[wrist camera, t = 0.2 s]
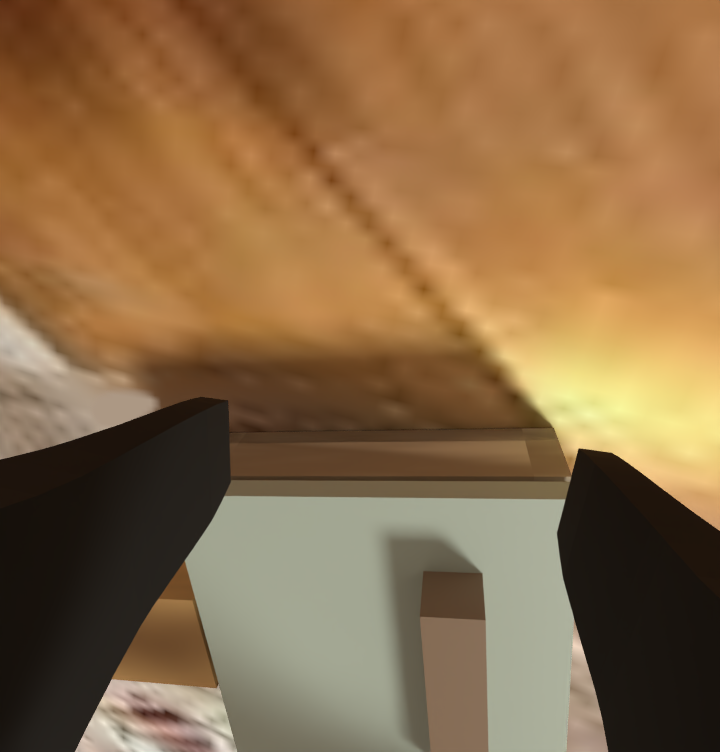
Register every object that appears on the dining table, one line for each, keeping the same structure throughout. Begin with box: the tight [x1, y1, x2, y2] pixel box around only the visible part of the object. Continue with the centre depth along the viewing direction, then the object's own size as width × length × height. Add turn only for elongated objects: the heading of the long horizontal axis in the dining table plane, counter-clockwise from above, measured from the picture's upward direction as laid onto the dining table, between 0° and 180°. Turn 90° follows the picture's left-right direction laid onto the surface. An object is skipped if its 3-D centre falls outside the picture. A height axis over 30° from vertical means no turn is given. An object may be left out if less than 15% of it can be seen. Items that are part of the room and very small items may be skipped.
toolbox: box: [229, 428, 572, 482], centre depth 23 cm, size 16×14×4 cm
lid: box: [185, 480, 574, 752], centre depth 20 cm, size 16×14×3 cm
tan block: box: [112, 561, 219, 688], centre depth 25 cm, size 5×6×4 cm
